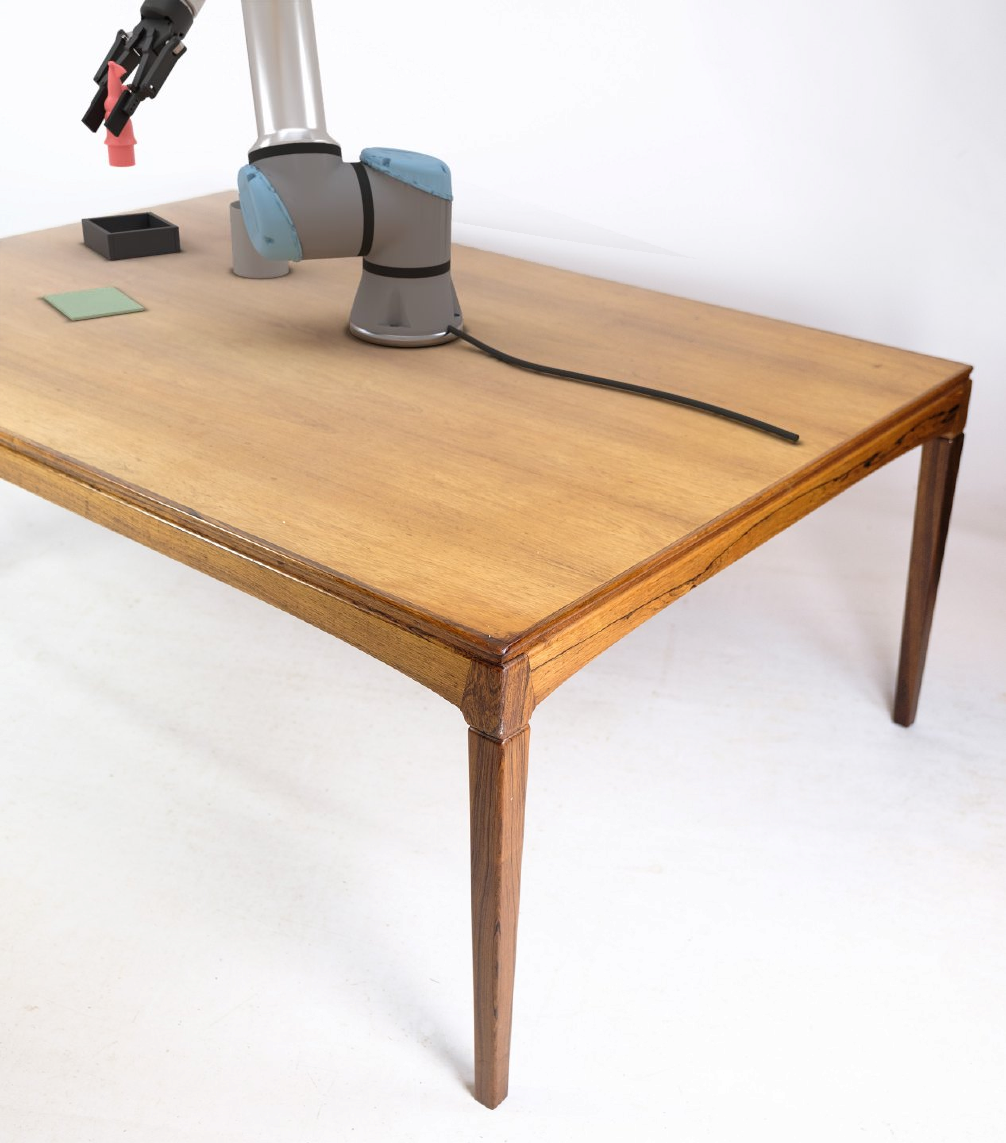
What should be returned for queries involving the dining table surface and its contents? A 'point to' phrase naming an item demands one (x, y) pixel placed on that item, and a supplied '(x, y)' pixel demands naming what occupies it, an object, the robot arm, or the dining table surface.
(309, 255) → the robot arm
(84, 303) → the mat
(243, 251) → the cup
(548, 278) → the dining table surface
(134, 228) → the box
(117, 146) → the figurine
